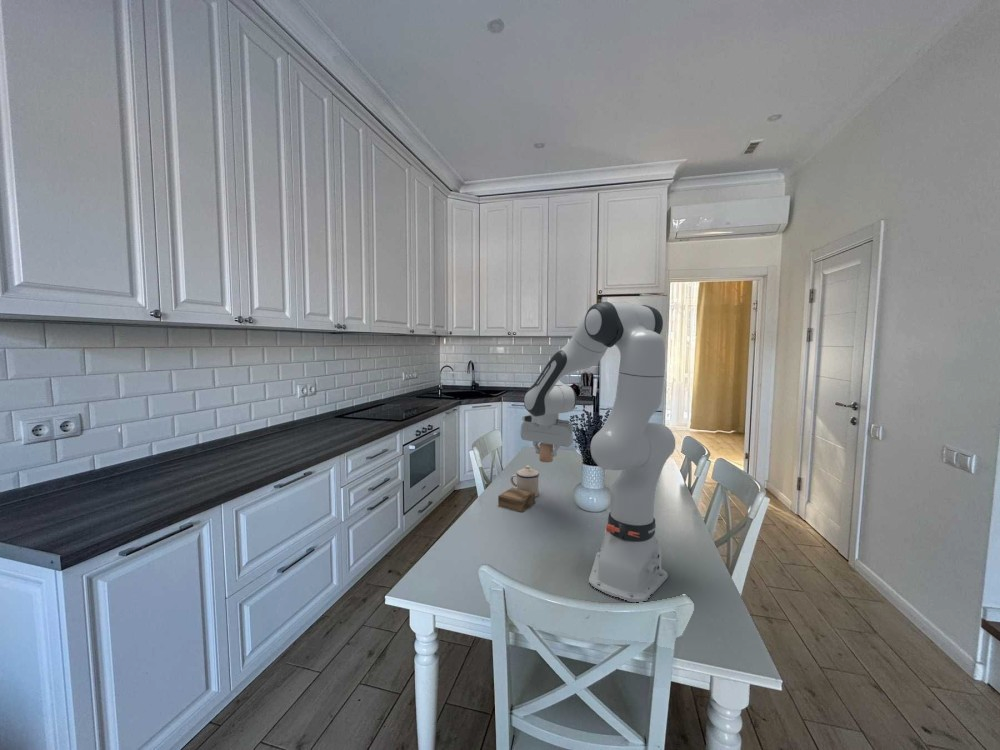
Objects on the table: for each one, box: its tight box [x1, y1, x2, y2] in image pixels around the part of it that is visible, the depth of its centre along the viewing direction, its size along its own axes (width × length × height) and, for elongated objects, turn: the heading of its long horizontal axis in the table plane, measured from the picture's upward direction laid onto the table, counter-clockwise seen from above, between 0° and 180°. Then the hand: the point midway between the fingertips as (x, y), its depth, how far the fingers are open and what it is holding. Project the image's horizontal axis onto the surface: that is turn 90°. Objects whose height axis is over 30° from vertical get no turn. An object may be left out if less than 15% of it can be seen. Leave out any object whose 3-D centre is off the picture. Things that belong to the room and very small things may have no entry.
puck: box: [538, 442, 554, 463], centre depth 146 cm, size 5×5×6 cm
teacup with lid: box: [510, 464, 540, 498], centre depth 158 cm, size 12×9×12 cm
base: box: [497, 487, 536, 513], centre depth 148 cm, size 10×10×4 cm
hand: (546, 454), depth 146 cm, fingers closed on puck, 5 cm apart
